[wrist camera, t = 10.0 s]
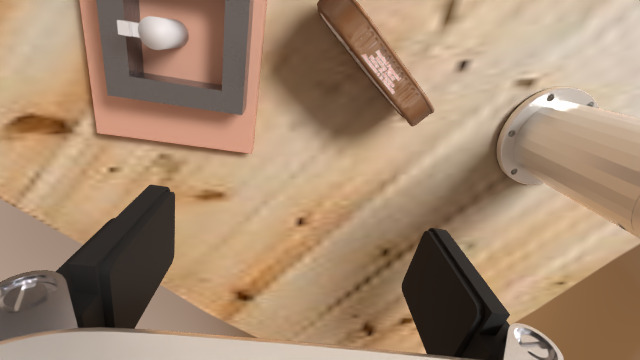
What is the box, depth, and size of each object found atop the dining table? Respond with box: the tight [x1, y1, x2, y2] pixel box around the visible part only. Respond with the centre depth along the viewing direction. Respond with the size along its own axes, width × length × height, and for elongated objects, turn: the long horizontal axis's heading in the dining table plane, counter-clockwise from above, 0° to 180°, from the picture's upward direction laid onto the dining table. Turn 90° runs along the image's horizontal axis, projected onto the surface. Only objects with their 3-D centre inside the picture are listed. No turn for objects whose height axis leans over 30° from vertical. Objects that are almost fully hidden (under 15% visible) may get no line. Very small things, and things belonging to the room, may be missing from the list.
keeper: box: [79, 0, 267, 154], centre depth 26 cm, size 16×22×7 cm
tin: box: [317, 0, 434, 126], centre depth 29 cm, size 15×3×8 cm, turn 42°
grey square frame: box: [96, 0, 254, 115], centre depth 27 cm, size 12×12×3 cm
